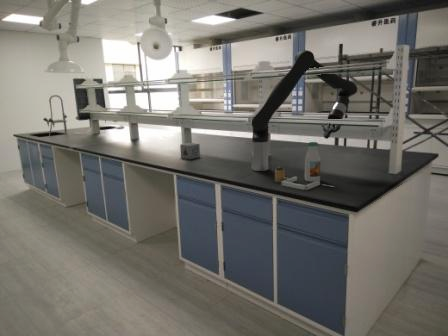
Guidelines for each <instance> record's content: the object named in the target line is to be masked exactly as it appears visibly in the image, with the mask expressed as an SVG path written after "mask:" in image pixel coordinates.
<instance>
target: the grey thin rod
mask: <svg viewBox="0 0 448 336" xmlns="http://www.w3.org/2000/svg"><path fill="white" fill-rule="evenodd" d="M285 179H286V180H287V179H289V177H285ZM321 185H322V186H326V187H327V186H328V187H332V188H334V187H335V186H334V185H328V184H323V183H322V184H321Z"/></svg>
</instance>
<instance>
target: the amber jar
mask: <svg viewBox="0 0 448 336" xmlns="http://www.w3.org/2000/svg"><path fill="white" fill-rule="evenodd" d="M285 171H286V170H285V168H284V167H283V166H276V168H275V169H274V182H275V183H279V184H281V181H284V180H286V178H285V176H286V175H285V174H286V172H285Z"/></svg>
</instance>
